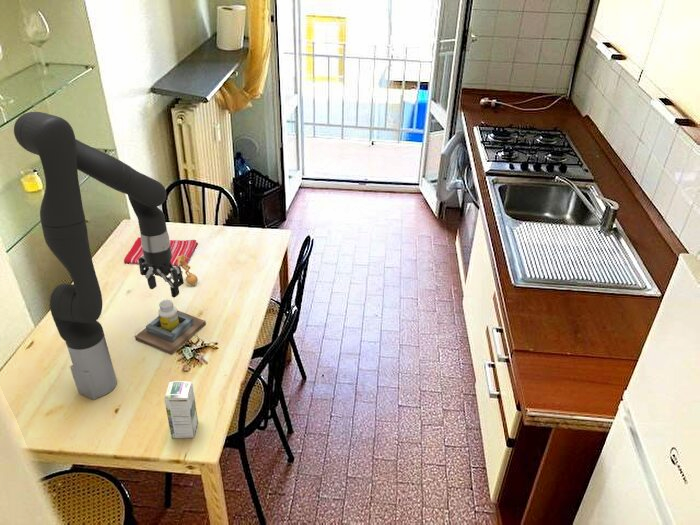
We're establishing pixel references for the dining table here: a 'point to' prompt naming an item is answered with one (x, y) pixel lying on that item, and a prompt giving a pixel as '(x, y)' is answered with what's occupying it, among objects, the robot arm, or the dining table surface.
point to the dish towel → (176, 249)
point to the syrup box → (181, 409)
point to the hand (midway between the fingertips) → (164, 291)
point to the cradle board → (170, 333)
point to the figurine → (187, 270)
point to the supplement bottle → (168, 315)
